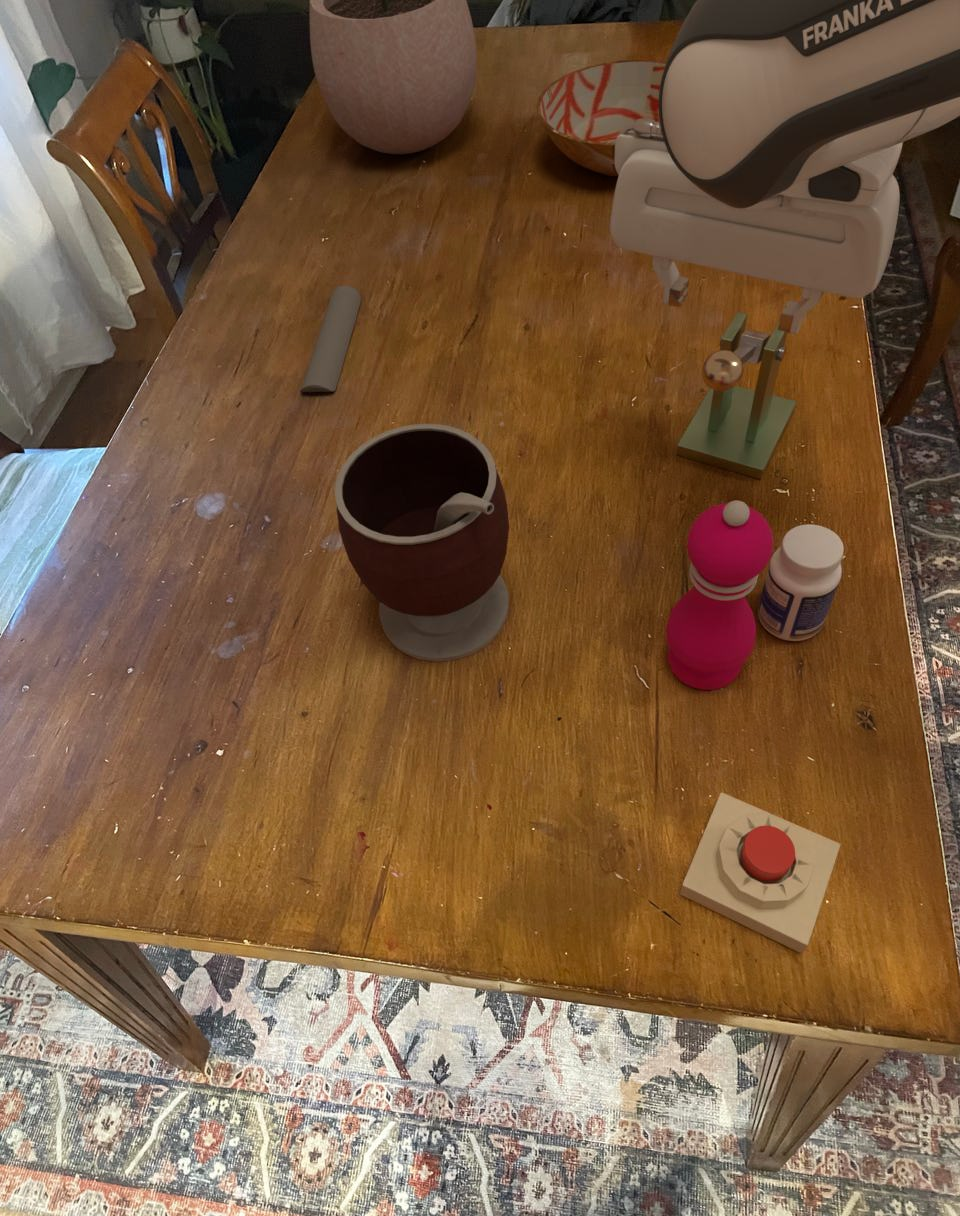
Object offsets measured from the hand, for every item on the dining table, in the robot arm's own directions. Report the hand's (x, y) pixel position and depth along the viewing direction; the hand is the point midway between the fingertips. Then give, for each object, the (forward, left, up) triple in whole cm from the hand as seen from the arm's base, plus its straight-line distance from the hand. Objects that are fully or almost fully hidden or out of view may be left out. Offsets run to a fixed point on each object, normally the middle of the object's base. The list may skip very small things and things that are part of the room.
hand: (730, 314), depth 68 cm
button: (-17, +34, -18) cm, 42 cm away
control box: (-17, +34, -21) cm, 44 cm away
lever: (0, -4, -9) cm, 10 cm away
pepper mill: (-7, +18, -21) cm, 29 cm away
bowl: (+34, -59, -21) cm, 71 cm away
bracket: (0, -10, -21) cm, 23 cm away
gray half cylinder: (+50, -6, -21) cm, 55 cm away
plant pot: (+68, -53, -21) cm, 89 cm away
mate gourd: (+16, +23, -21) cm, 35 cm away
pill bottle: (-12, +10, -21) cm, 27 cm away
